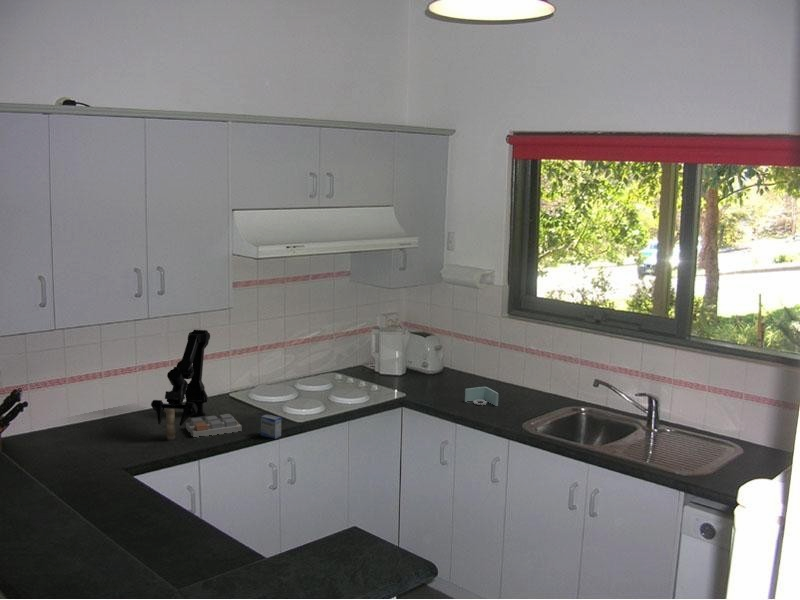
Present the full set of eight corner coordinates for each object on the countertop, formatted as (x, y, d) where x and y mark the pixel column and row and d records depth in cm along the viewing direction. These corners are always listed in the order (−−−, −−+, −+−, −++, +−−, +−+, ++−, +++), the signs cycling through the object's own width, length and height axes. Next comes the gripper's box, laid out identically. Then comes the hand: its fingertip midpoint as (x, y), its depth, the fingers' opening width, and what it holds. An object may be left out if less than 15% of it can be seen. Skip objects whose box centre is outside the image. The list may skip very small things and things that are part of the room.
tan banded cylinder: (165, 438, 350) (165, 409, 348) (174, 437, 352) (173, 408, 349) (167, 441, 347) (167, 411, 345) (176, 440, 349) (175, 410, 346)
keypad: (186, 428, 363) (186, 418, 362) (232, 422, 373) (232, 412, 372) (193, 438, 352) (193, 427, 351) (241, 431, 361) (241, 421, 361)
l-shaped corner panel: (464, 403, 413) (465, 388, 412) (485, 400, 418) (485, 386, 417) (476, 410, 402) (477, 395, 401) (497, 407, 407) (498, 393, 406)
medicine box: (260, 435, 357) (260, 416, 356) (266, 432, 361) (266, 413, 359) (275, 439, 354) (275, 419, 352) (281, 436, 357) (281, 416, 356)
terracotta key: (194, 428, 357) (194, 423, 356) (204, 427, 359) (204, 421, 358) (197, 432, 353) (196, 426, 353) (207, 430, 355) (207, 425, 355)
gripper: (152, 381, 350) (142, 414, 341) (195, 384, 348) (186, 417, 339) (159, 394, 359) (150, 426, 350) (201, 396, 357) (193, 429, 349)
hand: (169, 424), depth 347 cm, fingers open, 9 cm apart
